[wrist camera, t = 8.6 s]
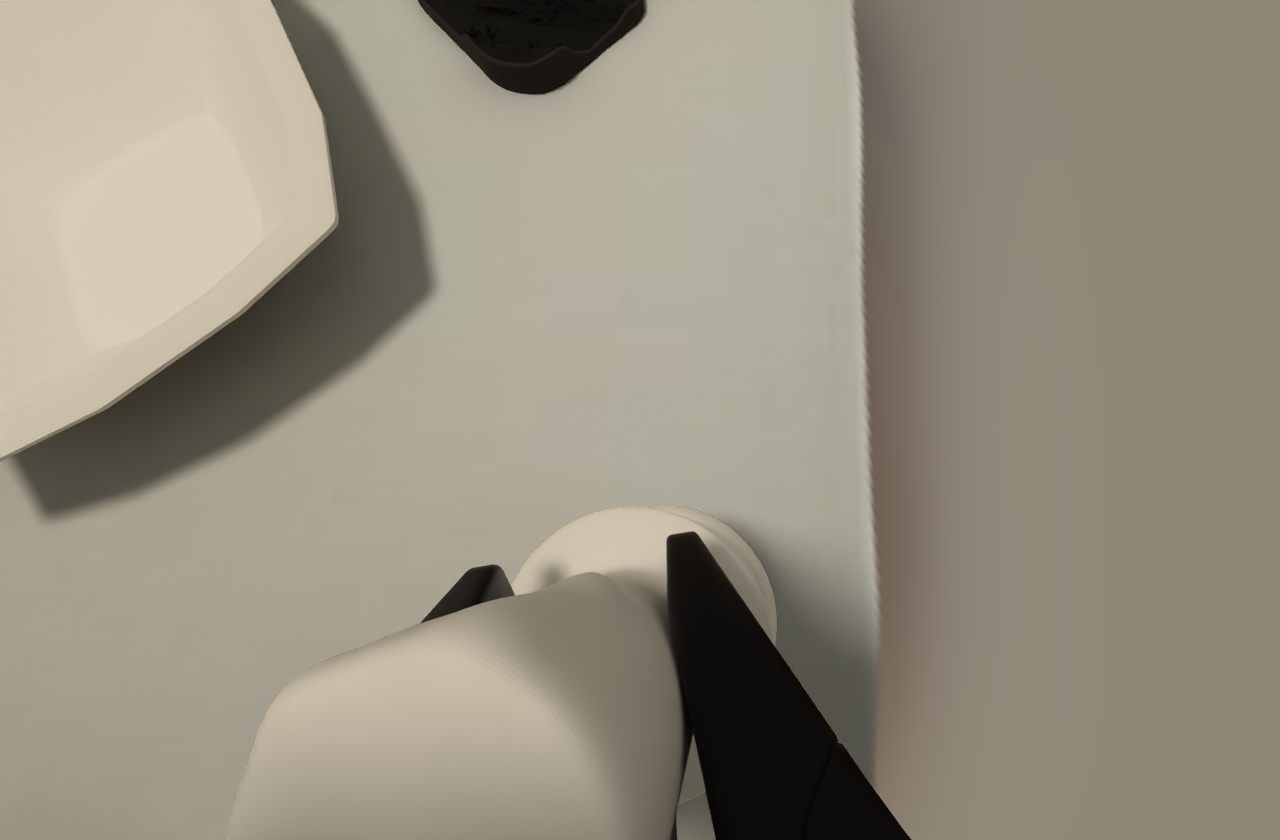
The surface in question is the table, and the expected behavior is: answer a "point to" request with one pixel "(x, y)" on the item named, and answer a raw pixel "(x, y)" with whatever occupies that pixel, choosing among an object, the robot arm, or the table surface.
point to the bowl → (143, 191)
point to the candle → (506, 706)
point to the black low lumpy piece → (533, 35)
